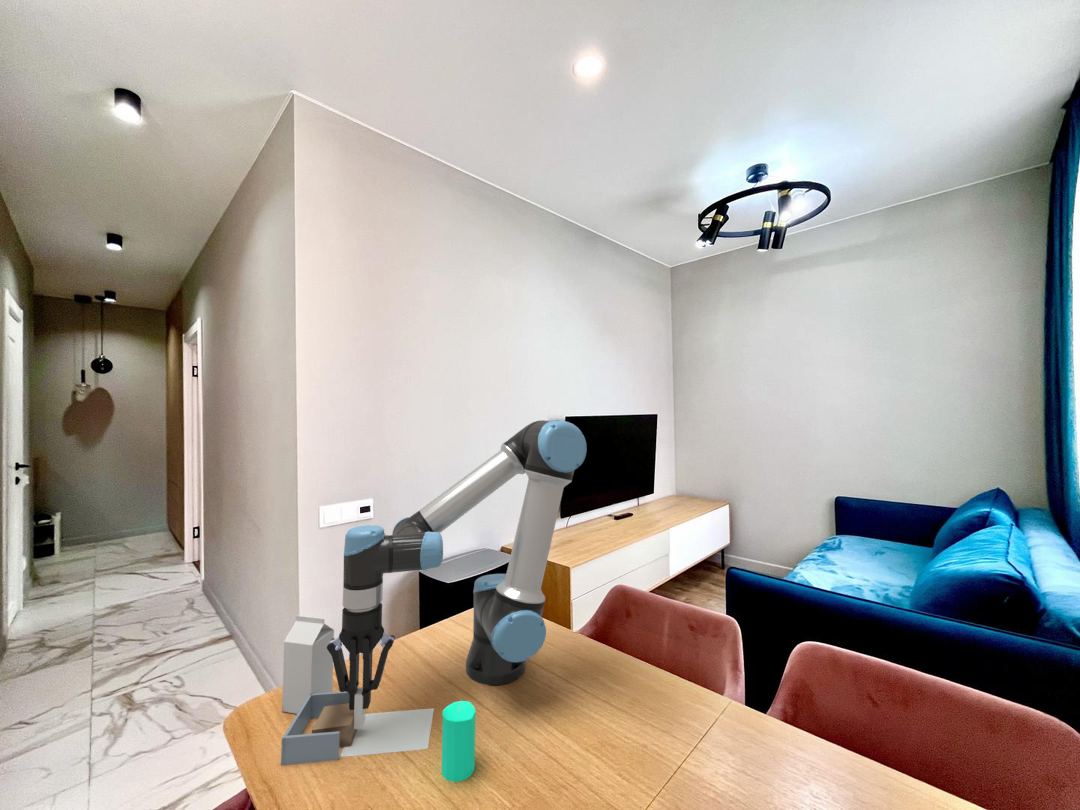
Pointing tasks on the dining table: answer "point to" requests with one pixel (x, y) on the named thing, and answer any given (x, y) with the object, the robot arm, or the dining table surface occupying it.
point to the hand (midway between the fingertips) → (359, 724)
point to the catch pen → (316, 744)
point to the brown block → (337, 723)
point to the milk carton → (306, 662)
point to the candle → (458, 741)
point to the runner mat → (392, 733)
